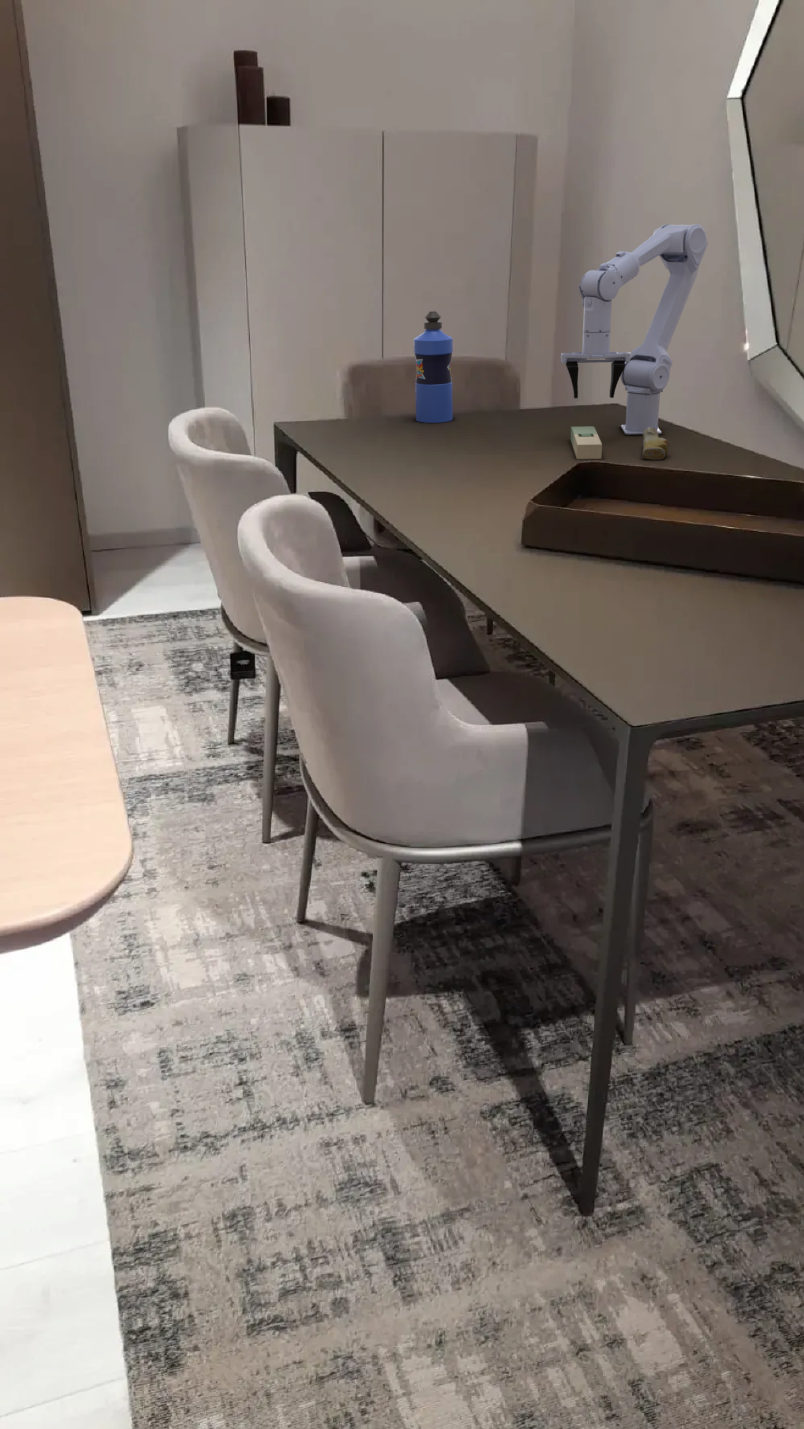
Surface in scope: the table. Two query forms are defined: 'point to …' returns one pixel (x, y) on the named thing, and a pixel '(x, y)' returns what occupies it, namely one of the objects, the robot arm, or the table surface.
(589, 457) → the cream pad
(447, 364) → the water bottle
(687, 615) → the table surface
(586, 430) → the green notched block
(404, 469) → the table surface
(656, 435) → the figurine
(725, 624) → the table surface
